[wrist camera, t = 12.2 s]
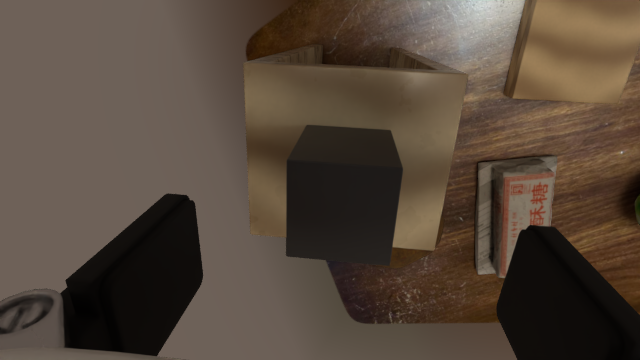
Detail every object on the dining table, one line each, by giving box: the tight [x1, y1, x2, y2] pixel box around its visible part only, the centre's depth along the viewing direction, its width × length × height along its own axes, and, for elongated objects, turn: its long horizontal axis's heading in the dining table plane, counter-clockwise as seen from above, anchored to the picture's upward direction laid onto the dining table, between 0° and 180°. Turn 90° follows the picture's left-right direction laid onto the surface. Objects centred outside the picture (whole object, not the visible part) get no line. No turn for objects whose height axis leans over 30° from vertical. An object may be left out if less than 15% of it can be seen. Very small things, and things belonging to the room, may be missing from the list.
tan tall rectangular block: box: [243, 44, 468, 251], centre depth 33 cm, size 10×11×30 cm
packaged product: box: [475, 156, 557, 278], centre depth 49 cm, size 18×5×10 cm
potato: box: [377, 214, 445, 269], centre depth 50 cm, size 8×12×9 cm
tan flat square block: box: [504, 0, 640, 104], centre depth 41 cm, size 12×12×3 cm
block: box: [286, 125, 403, 266], centre depth 17 cm, size 4×4×6 cm
